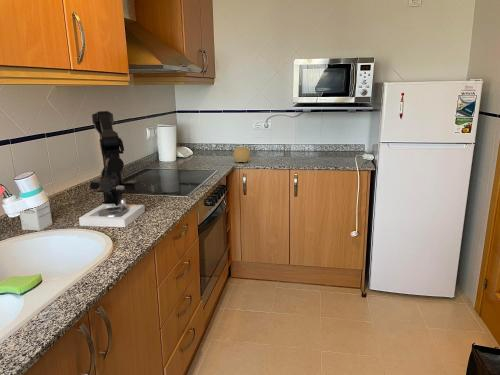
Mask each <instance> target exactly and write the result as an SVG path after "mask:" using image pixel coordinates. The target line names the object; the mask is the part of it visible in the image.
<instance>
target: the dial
mask: <svg viewBox="0 0 500 375" xmlns="http://www.w3.org/2000/svg"><path fill="white" fill-rule="evenodd" d="M119 204H121V207H111V208H106V209H103V210H101V211H99V212H98V216H102V217H122V216H123V215H125V214H126V213H128V209H127V208H126V198H125V197H121V199H120V202H119Z"/></svg>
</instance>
